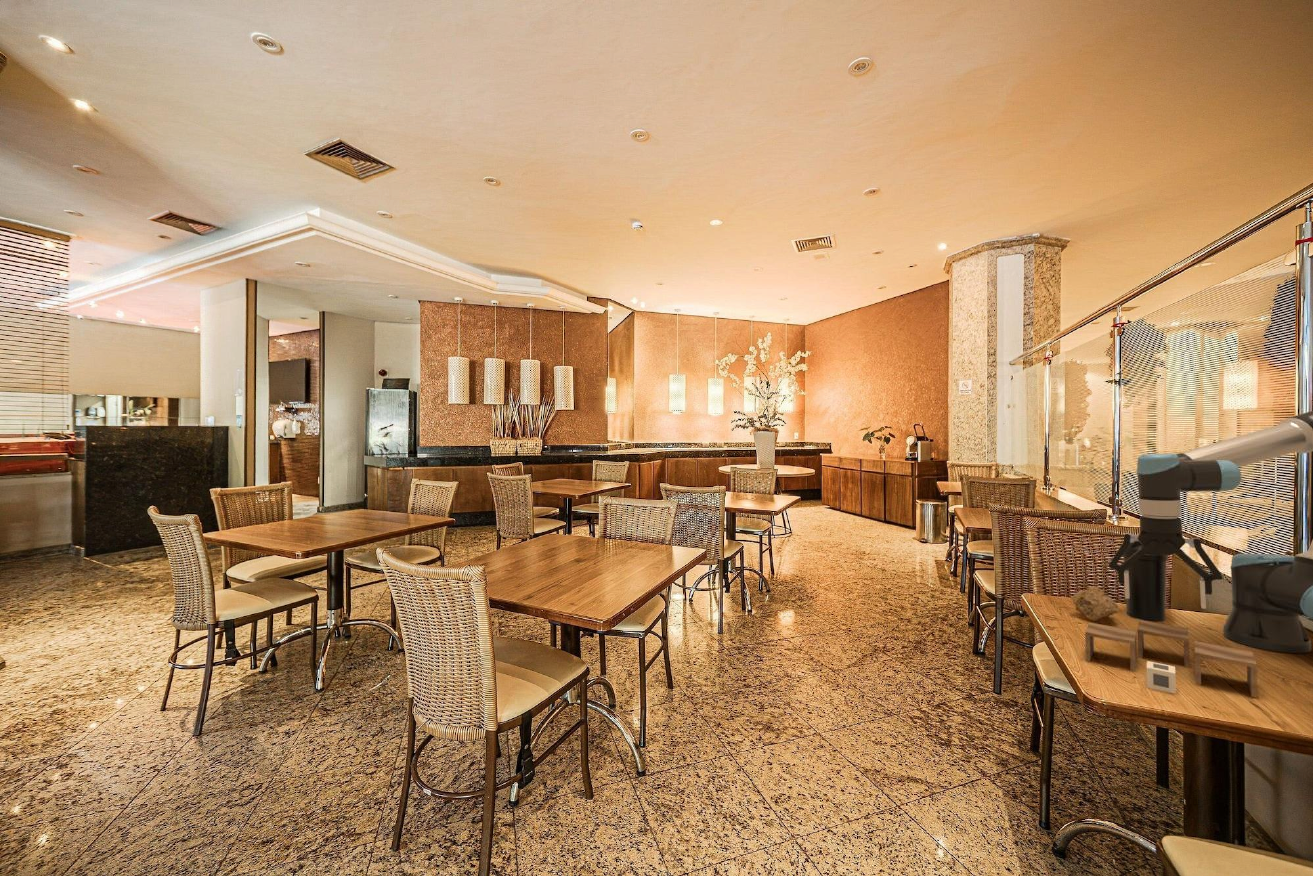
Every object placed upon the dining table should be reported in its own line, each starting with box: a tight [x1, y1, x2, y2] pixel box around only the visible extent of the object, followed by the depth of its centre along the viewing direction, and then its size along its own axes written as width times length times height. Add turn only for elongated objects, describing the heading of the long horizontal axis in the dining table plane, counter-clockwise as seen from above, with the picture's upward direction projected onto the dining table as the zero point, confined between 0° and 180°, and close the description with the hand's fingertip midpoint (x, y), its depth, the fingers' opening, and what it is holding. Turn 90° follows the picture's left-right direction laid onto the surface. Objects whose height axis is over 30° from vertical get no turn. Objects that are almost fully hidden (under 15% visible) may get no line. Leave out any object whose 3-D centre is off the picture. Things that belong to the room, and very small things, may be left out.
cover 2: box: [1136, 619, 1190, 669], centre depth 132 cm, size 9×9×7 cm
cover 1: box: [1084, 622, 1138, 672], centre depth 131 cm, size 9×9×7 cm
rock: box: [1070, 585, 1119, 622], centre depth 158 cm, size 12×10×10 cm
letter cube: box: [1146, 660, 1177, 695], centre depth 116 cm, size 5×4×5 cm
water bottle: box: [1122, 540, 1169, 623], centre depth 160 cm, size 10×10×23 cm
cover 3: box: [1193, 640, 1258, 698], centre depth 117 cm, size 9×9×7 cm
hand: (1164, 602), depth 132 cm, fingers open, 13 cm apart
